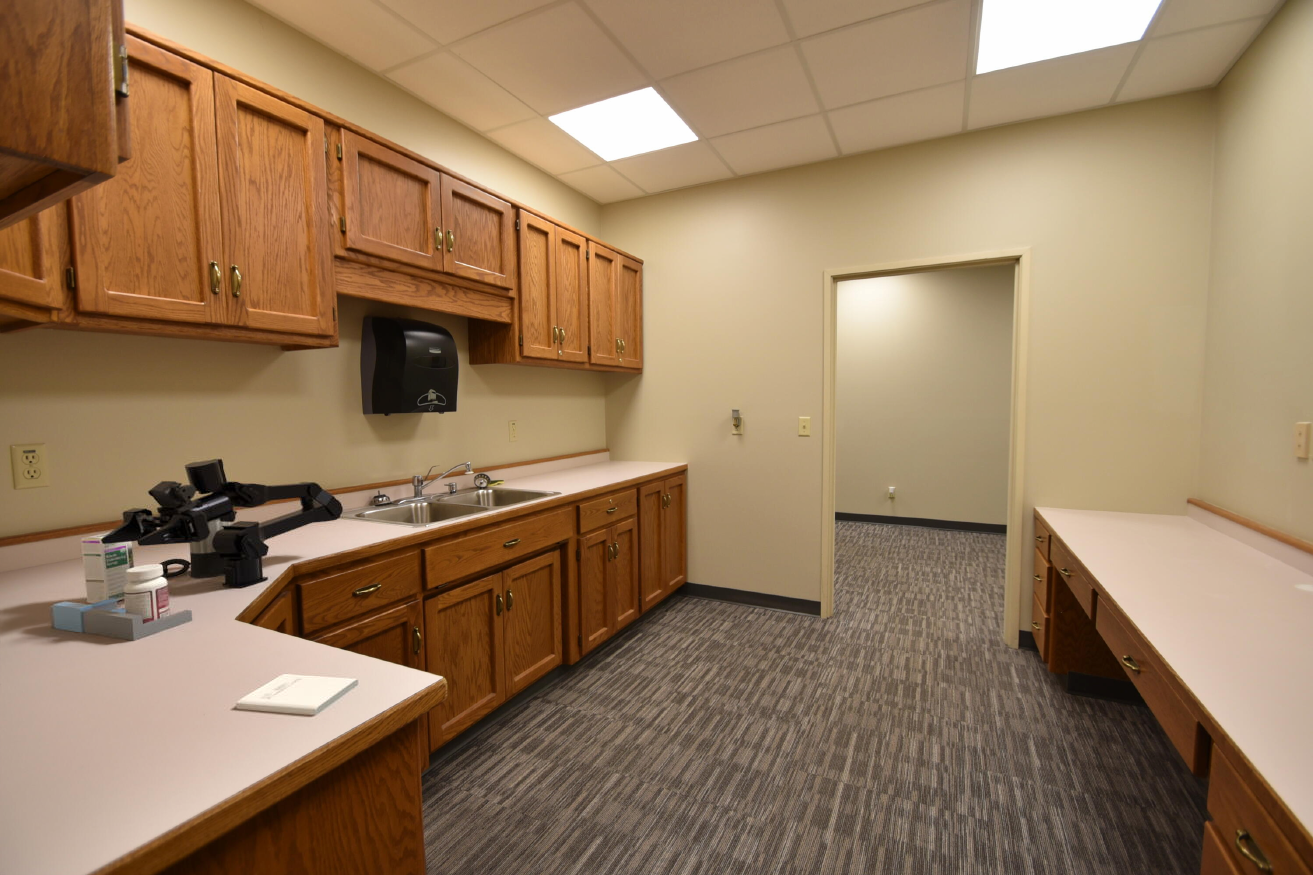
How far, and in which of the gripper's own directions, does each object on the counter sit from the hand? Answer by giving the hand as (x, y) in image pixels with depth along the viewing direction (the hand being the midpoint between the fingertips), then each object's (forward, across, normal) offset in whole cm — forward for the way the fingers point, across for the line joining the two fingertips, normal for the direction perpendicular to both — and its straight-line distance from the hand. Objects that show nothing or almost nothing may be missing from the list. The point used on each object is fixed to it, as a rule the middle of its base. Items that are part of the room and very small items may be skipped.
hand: (120, 542), depth 106 cm
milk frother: (-24, -20, +21) cm, 38 cm away
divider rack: (+3, 0, +16) cm, 16 cm away
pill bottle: (+3, +6, +16) cm, 17 cm away
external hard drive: (+19, +57, +13) cm, 62 cm away
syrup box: (-6, -19, +18) cm, 27 cm away
